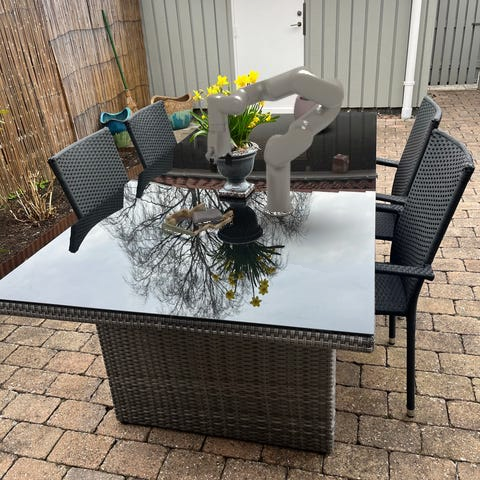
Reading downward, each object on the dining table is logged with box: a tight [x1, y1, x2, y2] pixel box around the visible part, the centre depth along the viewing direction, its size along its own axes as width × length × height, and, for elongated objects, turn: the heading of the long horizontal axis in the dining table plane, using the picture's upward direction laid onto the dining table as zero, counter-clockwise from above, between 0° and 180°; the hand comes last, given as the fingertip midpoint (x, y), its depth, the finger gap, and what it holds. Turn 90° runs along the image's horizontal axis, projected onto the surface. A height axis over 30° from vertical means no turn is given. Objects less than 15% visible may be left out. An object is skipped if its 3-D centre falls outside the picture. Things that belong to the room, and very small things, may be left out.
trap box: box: [162, 202, 234, 236], centre depth 190 cm, size 24×23×4 cm
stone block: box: [191, 208, 223, 227], centre depth 194 cm, size 12×5×10 cm
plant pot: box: [293, 95, 330, 131], centre depth 291 cm, size 24×24×30 cm
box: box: [331, 153, 350, 174], centre depth 234 cm, size 6×6×7 cm
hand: (221, 168), depth 194 cm, fingers open, 9 cm apart
